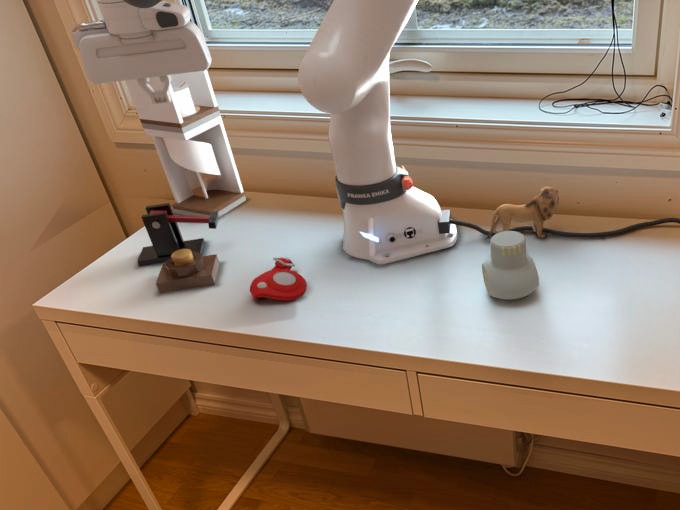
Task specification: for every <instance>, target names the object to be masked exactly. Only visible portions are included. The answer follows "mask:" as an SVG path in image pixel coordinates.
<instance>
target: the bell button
mask: <svg viewBox="0 0 680 510" xmlns="http://www.w3.org/2000/svg"><path fill="white" fill-rule="evenodd" d="M171 257H172V260H173V262H174V265H175V266H182V265H186V264H189V263H191V262H192V261H194V257H193V254H192V252H191V250H190V249H181V250H177V251H175V252H174V253H172V255H171Z"/></svg>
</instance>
